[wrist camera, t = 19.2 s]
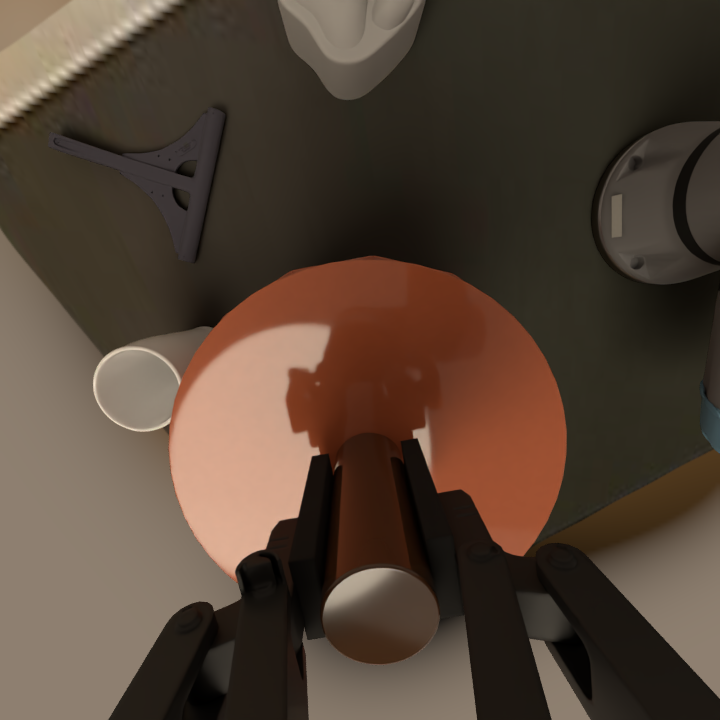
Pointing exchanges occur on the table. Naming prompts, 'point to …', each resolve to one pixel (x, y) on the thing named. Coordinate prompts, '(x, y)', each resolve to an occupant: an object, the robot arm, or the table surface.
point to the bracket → (167, 175)
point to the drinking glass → (145, 378)
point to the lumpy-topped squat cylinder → (351, 39)
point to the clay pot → (366, 433)
